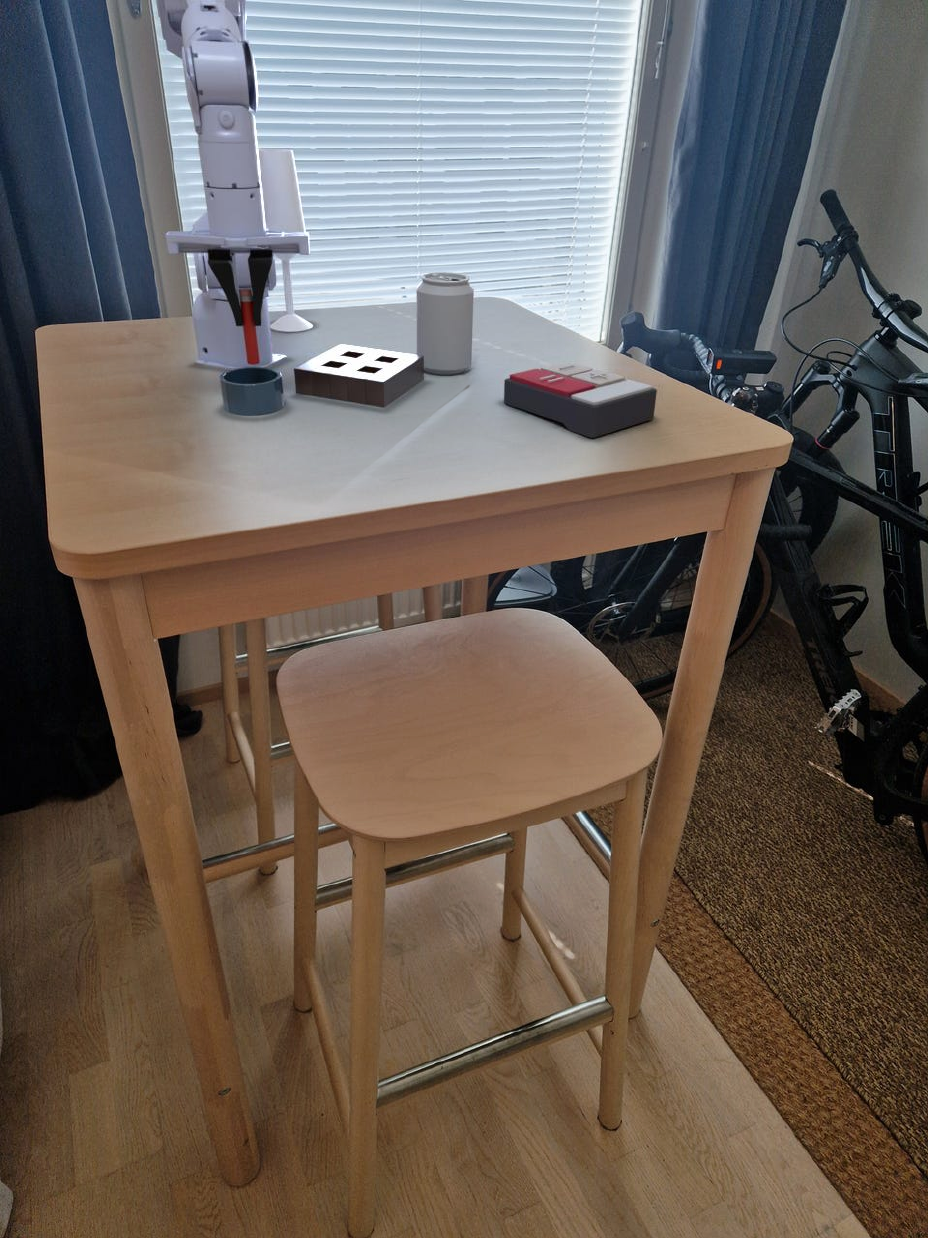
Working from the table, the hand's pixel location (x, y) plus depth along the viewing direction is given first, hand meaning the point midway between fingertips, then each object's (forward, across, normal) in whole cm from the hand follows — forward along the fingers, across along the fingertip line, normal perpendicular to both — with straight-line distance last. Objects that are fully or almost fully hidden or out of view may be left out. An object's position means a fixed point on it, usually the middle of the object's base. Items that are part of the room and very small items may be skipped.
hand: (248, 323), depth 89 cm
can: (+10, +24, +14) cm, 30 cm away
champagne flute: (+10, +3, +38) cm, 39 cm away
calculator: (+10, +38, -4) cm, 39 cm away
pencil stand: (+10, +12, +6) cm, 17 cm away
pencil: (+4, 0, 0) cm, 4 cm away
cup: (+10, 0, 0) cm, 10 cm away
